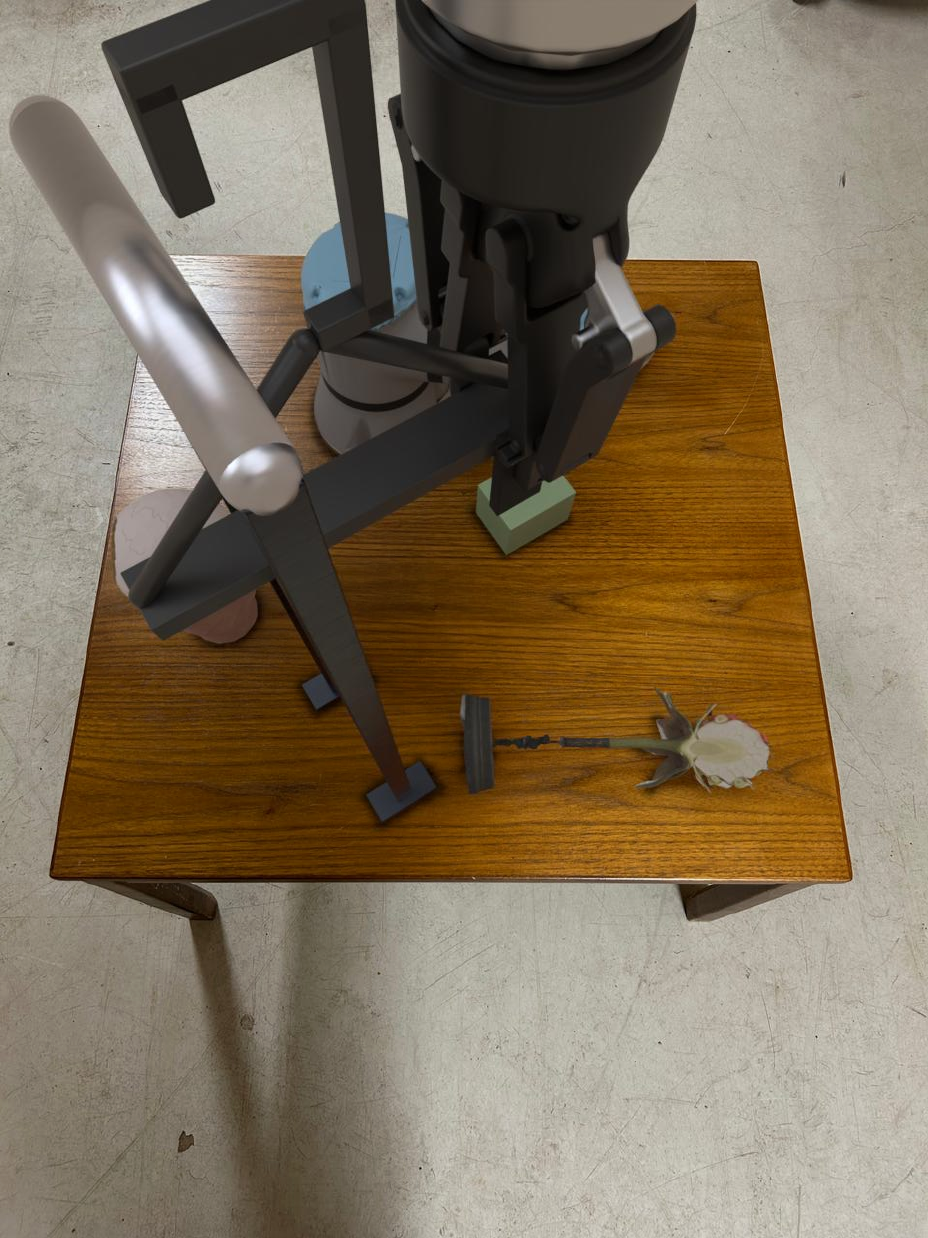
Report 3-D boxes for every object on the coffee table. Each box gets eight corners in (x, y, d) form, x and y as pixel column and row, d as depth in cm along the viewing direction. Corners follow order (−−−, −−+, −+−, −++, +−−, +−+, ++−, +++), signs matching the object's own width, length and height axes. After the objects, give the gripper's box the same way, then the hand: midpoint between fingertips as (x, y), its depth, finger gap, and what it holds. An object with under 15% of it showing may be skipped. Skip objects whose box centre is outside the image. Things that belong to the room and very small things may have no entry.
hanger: (159, 643, 32) (-267, 270, 13) (129, 587, 33) (-315, 156, 14) (556, 421, 36) (680, -117, 17) (520, 375, 37) (599, -187, 18)
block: (475, 512, 84) (477, 484, 78) (536, 477, 85) (542, 448, 80) (506, 555, 82) (510, 530, 77) (567, 519, 84) (576, 492, 78)
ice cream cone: (158, 585, 80) (70, 489, 62) (260, 550, 82) (204, 446, 63) (186, 678, 77) (101, 608, 58) (291, 640, 79) (242, 560, 60)
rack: (303, 687, 77) (-98, 110, 20) (356, 656, 78) (114, 30, 22) (382, 823, 73) (153, 568, 16) (437, 788, 74) (400, 437, 17)
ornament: (742, 695, 77) (777, 671, 69) (756, 796, 74) (794, 784, 66) (460, 697, 77) (462, 673, 69) (461, 799, 74) (463, 787, 65)
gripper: (254, -154, 20) (356, 395, 42) (624, 256, 16) (522, 630, 38) (493, -237, 22) (471, 335, 44) (893, 117, 17) (644, 554, 39)
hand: (494, 471), depth 41 cm, fingers closed on hanger, 3 cm apart
